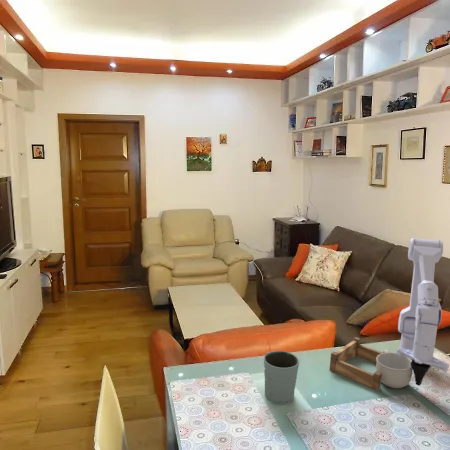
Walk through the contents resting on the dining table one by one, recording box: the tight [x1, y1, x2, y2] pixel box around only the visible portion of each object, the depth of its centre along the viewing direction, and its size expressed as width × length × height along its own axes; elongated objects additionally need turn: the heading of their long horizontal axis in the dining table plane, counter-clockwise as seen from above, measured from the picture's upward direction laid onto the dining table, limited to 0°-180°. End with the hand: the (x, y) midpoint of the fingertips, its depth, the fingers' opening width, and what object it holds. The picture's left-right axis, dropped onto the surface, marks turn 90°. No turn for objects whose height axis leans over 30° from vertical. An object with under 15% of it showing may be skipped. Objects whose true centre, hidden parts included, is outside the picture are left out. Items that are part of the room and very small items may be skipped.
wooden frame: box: [329, 336, 383, 391], centre depth 143 cm, size 18×16×6 cm
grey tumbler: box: [263, 350, 300, 405], centre depth 126 cm, size 10×10×12 cm
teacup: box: [375, 349, 413, 389], centre depth 137 cm, size 14×11×8 cm
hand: (418, 383), depth 132 cm, fingers closed
